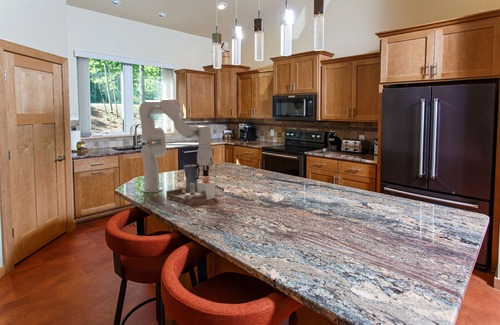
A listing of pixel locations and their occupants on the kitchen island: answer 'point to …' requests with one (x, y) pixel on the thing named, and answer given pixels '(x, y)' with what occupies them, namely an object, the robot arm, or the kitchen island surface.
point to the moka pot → (191, 175)
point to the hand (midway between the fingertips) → (205, 176)
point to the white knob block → (206, 189)
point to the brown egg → (205, 179)
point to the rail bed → (179, 197)
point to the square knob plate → (191, 192)
